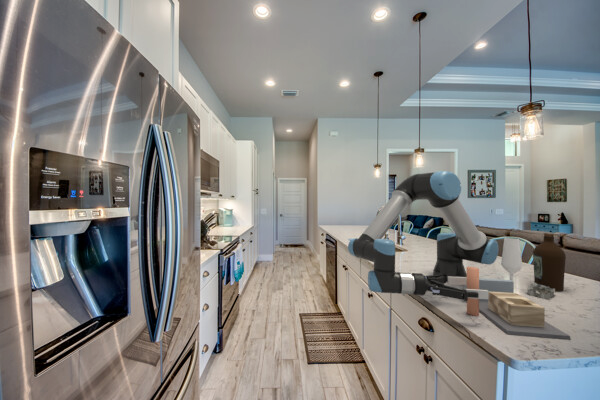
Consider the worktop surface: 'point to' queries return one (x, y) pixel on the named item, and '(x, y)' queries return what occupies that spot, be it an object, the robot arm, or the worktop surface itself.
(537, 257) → the olive oil
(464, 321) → the worktop surface
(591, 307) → the worktop surface
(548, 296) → the egg carton
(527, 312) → the socket block
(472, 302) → the dowel
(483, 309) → the mat
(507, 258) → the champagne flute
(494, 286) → the wall
